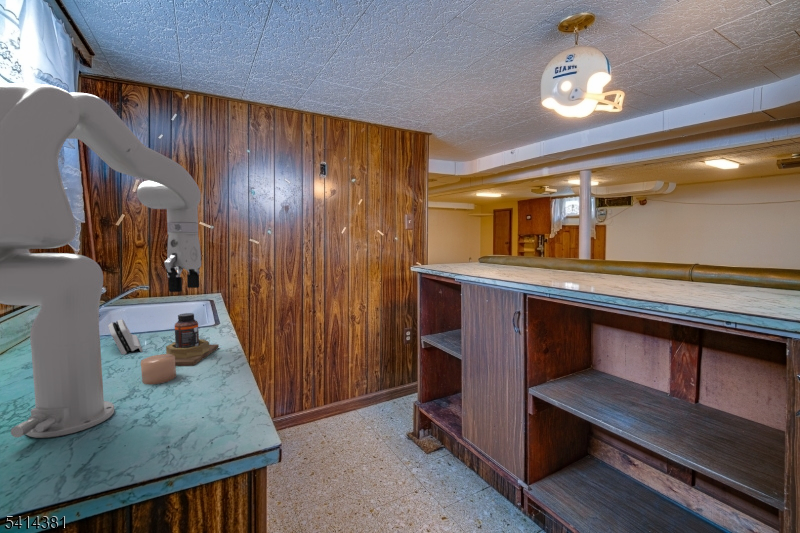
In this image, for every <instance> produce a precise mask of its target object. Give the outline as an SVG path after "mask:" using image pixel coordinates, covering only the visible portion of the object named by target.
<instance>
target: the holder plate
mask: <svg viewBox="0 0 800 533" xmlns="http://www.w3.org/2000/svg"><path fill="white" fill-rule="evenodd" d="M218 347H220V346H219V344H210V341H207V340H206V339H203V338H202V339H201V338H199V346H194V347H189V348H176V345H175V341H174V342H172V343H171V344H168V345H166V346H165V350H166V351H165V354H172V355H174V356H175V366H176V367H190V366H192V367H193V366H196V364H198V363H200V362H201V361H202V360H204V359H205V358H207V357H208V356H209V354H210V353H211V354H213V353H214V352H215V351H217V350H218V349H219V348H218ZM217 348H218V349H217ZM216 349H217V350H216ZM214 350H215V351H214ZM213 351H214V352H213ZM211 354H210V355H211Z"/></svg>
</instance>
